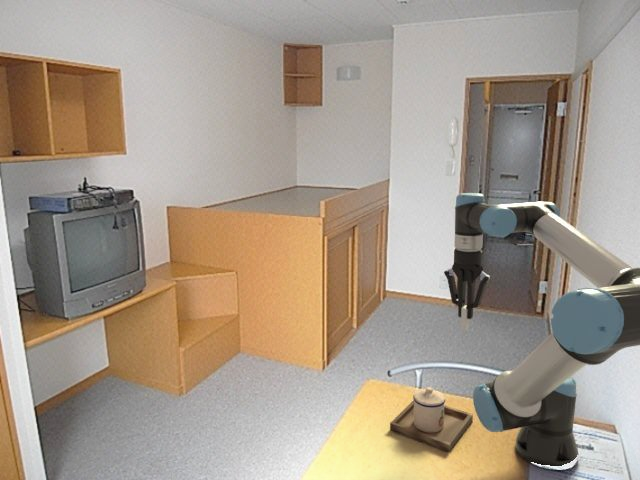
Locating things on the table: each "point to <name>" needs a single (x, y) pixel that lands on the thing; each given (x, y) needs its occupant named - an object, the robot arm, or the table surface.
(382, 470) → the table surface
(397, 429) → the walnut tray
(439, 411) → the teacup with lid
